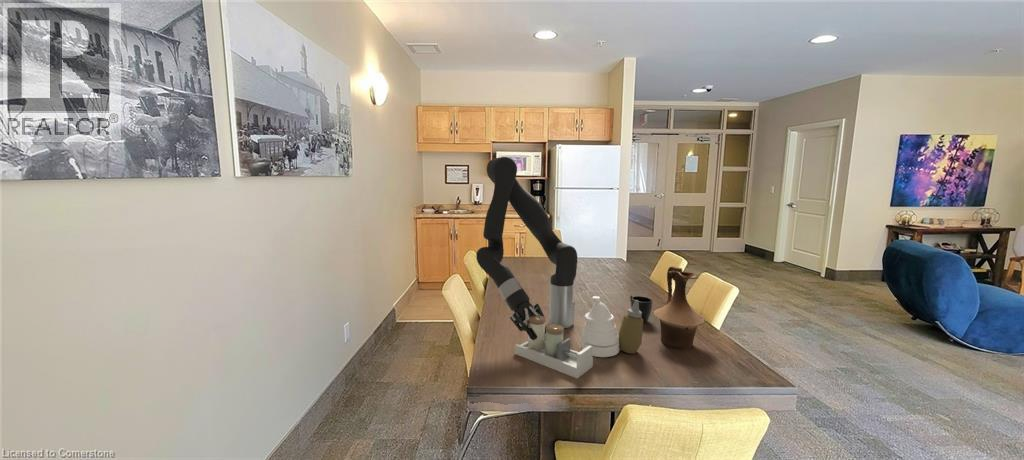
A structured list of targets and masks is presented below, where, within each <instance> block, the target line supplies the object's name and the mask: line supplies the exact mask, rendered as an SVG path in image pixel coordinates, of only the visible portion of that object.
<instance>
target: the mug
mask: <svg viewBox="0 0 1024 460" xmlns="http://www.w3.org/2000/svg"><path fill="white" fill-rule="evenodd" d="M629 300H630V308H632V306H633V304H634V302H635V300H638V301H639V310H640V311H641V312H642V315H641V318H642V319H643V324H647V323H648V322H649V321H648V320H649V318H650V316H651V314H652V309H653V308H652V307H653V299H652V298H650V297H648V296H641V295H633V294H631V295H630V298H629ZM646 322H647V323H646Z"/></svg>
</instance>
